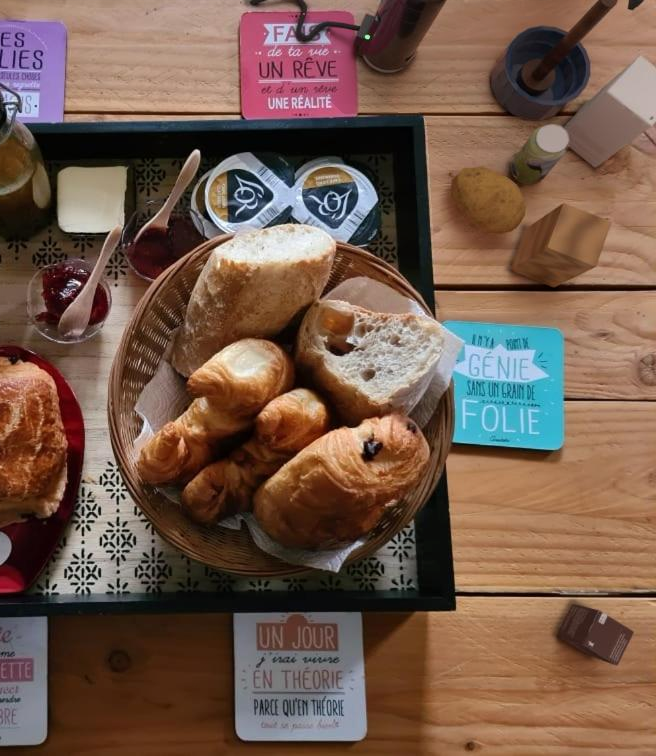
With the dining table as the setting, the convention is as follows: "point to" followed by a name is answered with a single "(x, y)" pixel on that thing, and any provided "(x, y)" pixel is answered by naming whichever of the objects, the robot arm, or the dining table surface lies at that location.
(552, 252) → the wooden block
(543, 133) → the beverage can
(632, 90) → the rectangular carton
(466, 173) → the potato
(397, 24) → the robot arm
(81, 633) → the dining table surface
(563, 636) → the box
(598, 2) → the brown rod with disc
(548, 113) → the bowl
